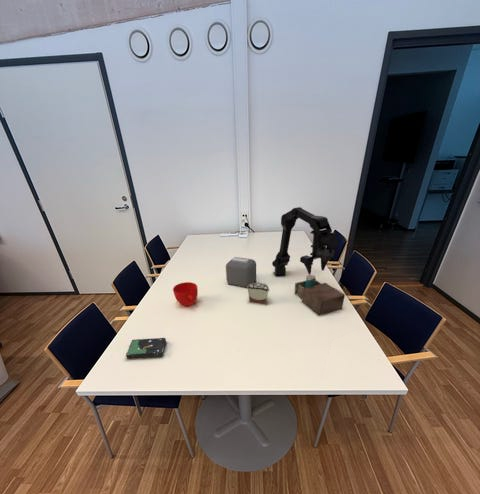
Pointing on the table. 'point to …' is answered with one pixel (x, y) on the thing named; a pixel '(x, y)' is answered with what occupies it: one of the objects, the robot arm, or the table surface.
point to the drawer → (301, 285)
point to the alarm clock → (241, 271)
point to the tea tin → (310, 280)
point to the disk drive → (146, 348)
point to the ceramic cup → (186, 293)
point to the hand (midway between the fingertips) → (316, 272)
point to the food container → (258, 293)
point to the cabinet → (322, 298)
